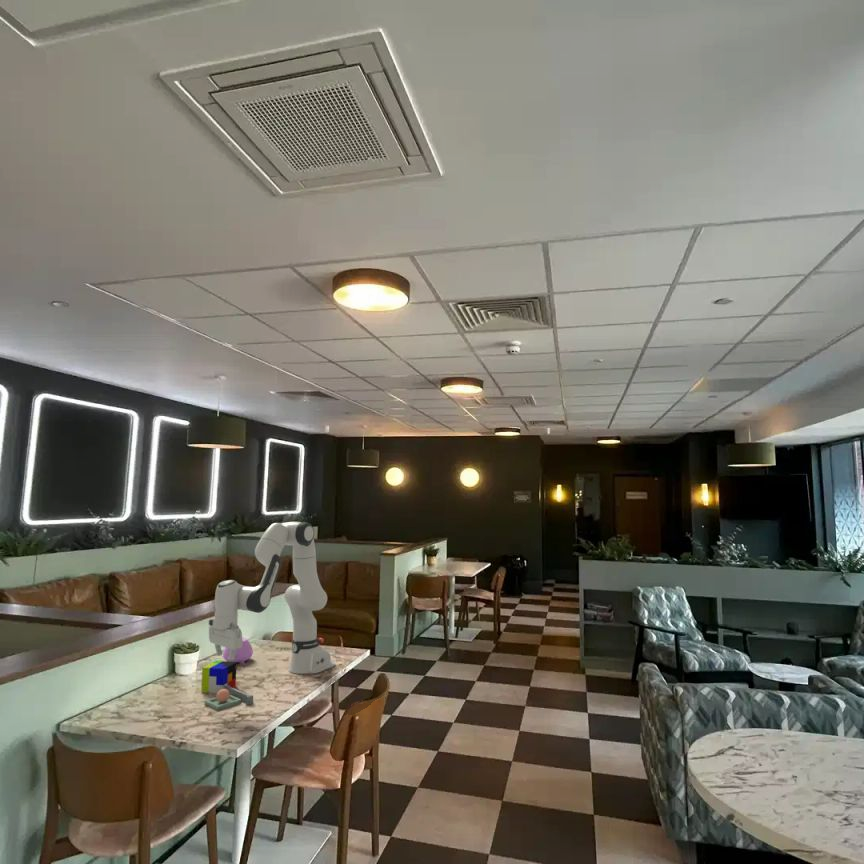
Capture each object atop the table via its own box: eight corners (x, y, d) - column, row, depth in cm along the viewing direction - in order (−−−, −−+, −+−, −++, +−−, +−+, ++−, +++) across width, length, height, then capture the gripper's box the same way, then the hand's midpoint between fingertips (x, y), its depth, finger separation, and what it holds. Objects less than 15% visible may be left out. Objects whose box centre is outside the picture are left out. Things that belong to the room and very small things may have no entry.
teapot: (246, 667, 271) (247, 641, 272) (216, 668, 270) (217, 642, 271) (256, 655, 291) (257, 631, 292) (228, 656, 289) (229, 632, 291)
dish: (228, 697, 230) (228, 693, 231) (241, 703, 224) (241, 699, 224) (204, 704, 223) (204, 700, 223) (217, 710, 216) (217, 706, 217)
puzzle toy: (222, 693, 235) (223, 668, 236) (201, 692, 237) (202, 667, 238) (235, 685, 245) (236, 662, 246) (215, 684, 247) (215, 660, 248)
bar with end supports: (228, 692, 236) (228, 685, 237) (253, 703, 224) (253, 695, 224) (223, 694, 235) (223, 686, 235) (247, 704, 222) (247, 697, 223)
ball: (225, 699, 227) (225, 686, 228) (232, 701, 224) (232, 688, 224) (213, 702, 223) (214, 689, 224) (220, 705, 220) (220, 692, 221)
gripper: (246, 624, 222) (246, 660, 221) (220, 617, 236) (219, 651, 234) (232, 627, 218) (231, 664, 216) (206, 620, 231) (205, 654, 230)
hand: (225, 657), depth 225 cm, fingers open, 8 cm apart
